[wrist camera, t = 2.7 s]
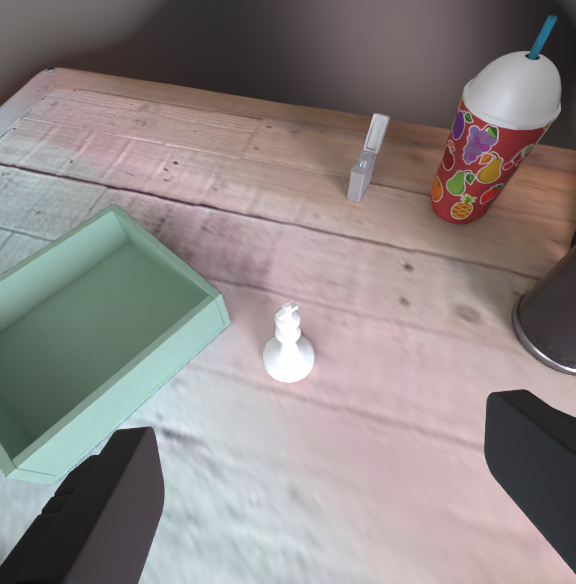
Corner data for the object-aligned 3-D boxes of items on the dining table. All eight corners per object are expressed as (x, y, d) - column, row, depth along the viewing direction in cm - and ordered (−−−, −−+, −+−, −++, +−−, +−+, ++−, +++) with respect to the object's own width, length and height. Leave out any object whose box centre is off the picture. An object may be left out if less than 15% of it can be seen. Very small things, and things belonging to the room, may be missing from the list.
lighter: (358, 202, 46) (370, 147, 39) (345, 198, 46) (354, 142, 39) (378, 168, 49) (391, 111, 42) (365, 164, 49) (377, 107, 43)
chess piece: (252, 352, 35) (239, 299, 27) (293, 324, 37) (293, 266, 28) (283, 393, 33) (279, 349, 25) (325, 361, 35) (335, 310, 26)
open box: (135, 238, 43) (114, 202, 38) (231, 323, 37) (222, 293, 32) (-33, 355, 36) (-86, 329, 31) (53, 485, 30) (5, 478, 25)
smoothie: (500, 201, 45) (624, 11, 28) (475, 244, 42) (598, 56, 25) (437, 174, 48) (515, -14, 31) (408, 213, 45) (478, 24, 28)
